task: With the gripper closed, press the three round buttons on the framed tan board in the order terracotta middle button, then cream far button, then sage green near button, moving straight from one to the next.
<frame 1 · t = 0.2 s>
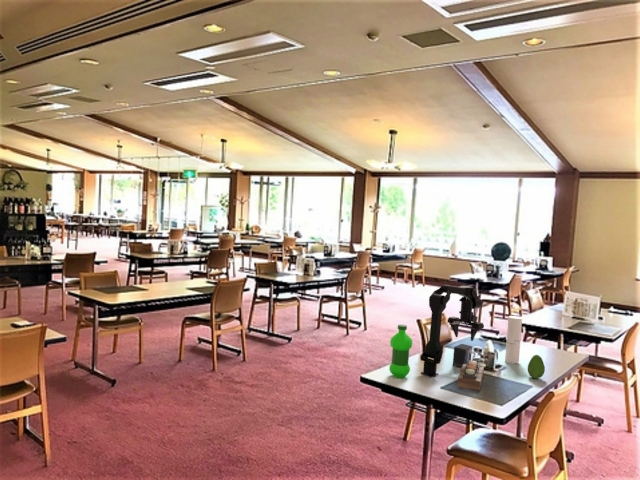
hand: (464, 338, 275), 14 cm above the table, tool pointing down, fingers open, 9 cm apart
avocado: (535, 378, 261), on the table
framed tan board: (470, 380, 252), on the table
button cream: (473, 363, 259), point 6 cm above the table, slide at 0.0 cm
plastic bottle: (399, 376, 252), on the table
button terracotta: (471, 367, 252), point 6 cm above the table, slide at 0.0 cm
button sage: (470, 372, 244), point 6 cm above the table, slide at 0.0 cm
small box: (461, 366, 277), on the table
cylindrical container: (511, 362, 289), on the table
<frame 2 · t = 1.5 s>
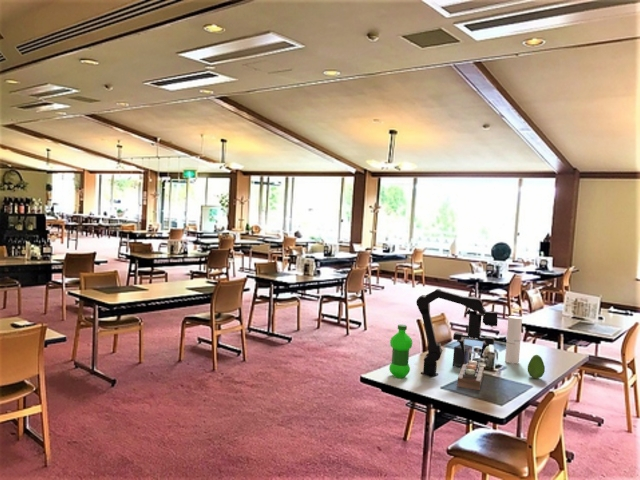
hand: (472, 355, 252), 12 cm above the table, tool pointing down, fingers open, 8 cm apart
nothing on the table moved.
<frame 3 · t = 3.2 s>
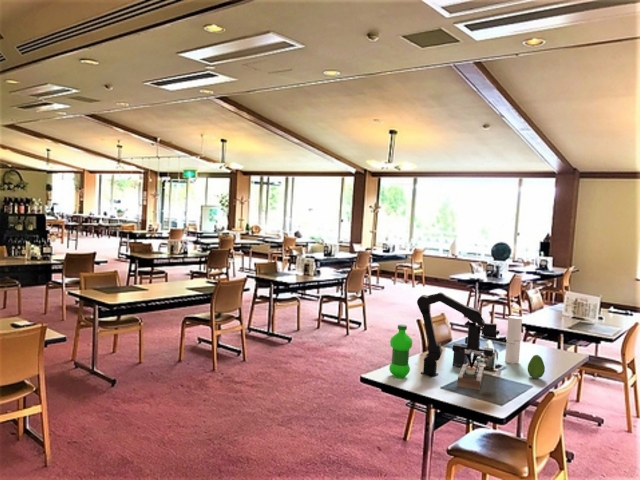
hand: (471, 367, 252), 6 cm above the table, tool pointing down, fingers closed, pressing on button terracotta
button terracotta: (471, 369, 252), point 6 cm above the table, slide at 0.8 cm, touching gripper
everything else where it was.
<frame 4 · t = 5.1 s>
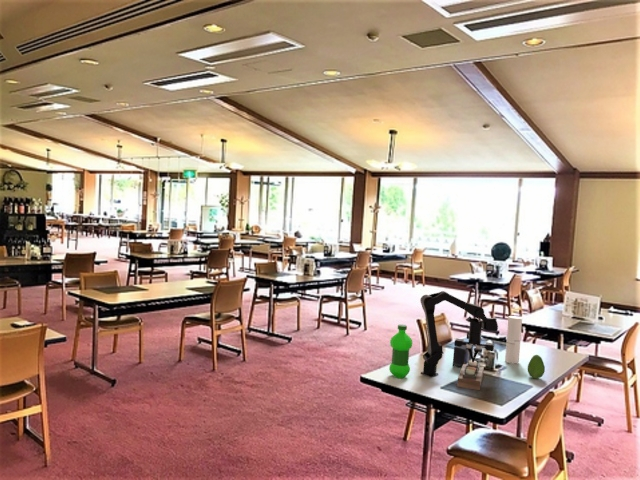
hand: (473, 361, 259), 7 cm above the table, tool pointing down, fingers closed, pressing on button cream
button cream: (473, 363, 259), point 6 cm above the table, slide at 0.0 cm, touching gripper
button terracotta: (471, 369, 252), point 5 cm above the table, slide at 1.0 cm
everything else where it was.
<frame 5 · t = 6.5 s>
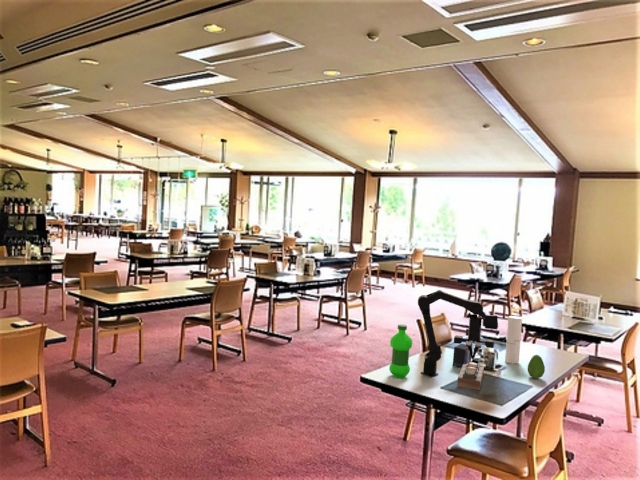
hand: (472, 358, 254), 10 cm above the table, tool pointing down, fingers closed
button cream: (472, 365, 259), point 5 cm above the table, slide at 1.0 cm
everything else where it was.
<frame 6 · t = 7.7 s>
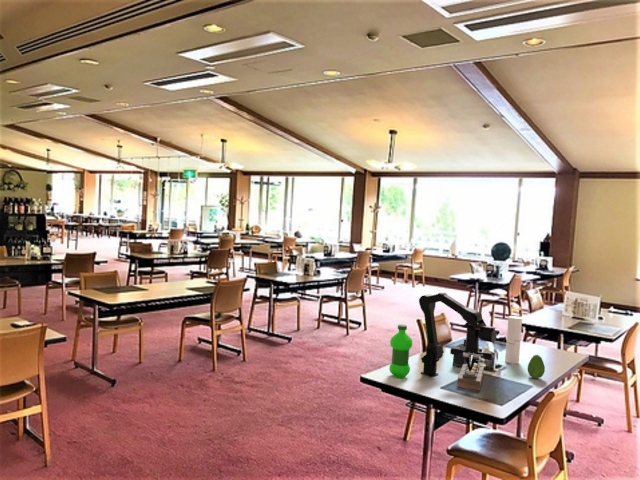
hand: (470, 371, 244), 7 cm above the table, tool pointing down, fingers closed, pressing on button sage
button sage: (470, 372, 244), point 6 cm above the table, slide at 0.4 cm, touching gripper
everything else where it was.
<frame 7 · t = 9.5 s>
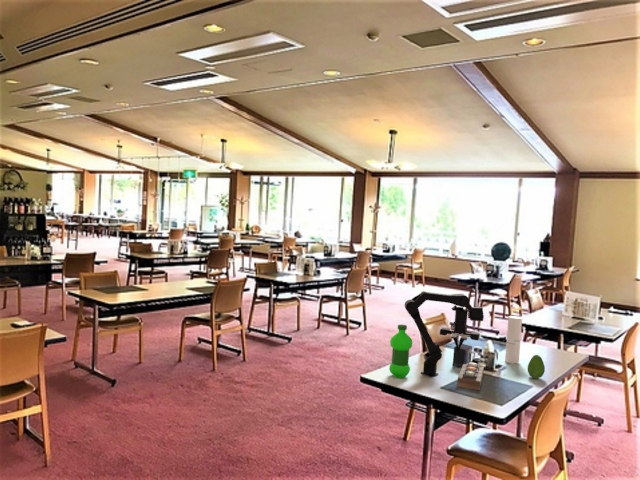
hand: (458, 351, 257), 13 cm above the table, tool pointing down, fingers closed
button sage: (470, 374, 244), point 5 cm above the table, slide at 1.0 cm
everything else where it was.
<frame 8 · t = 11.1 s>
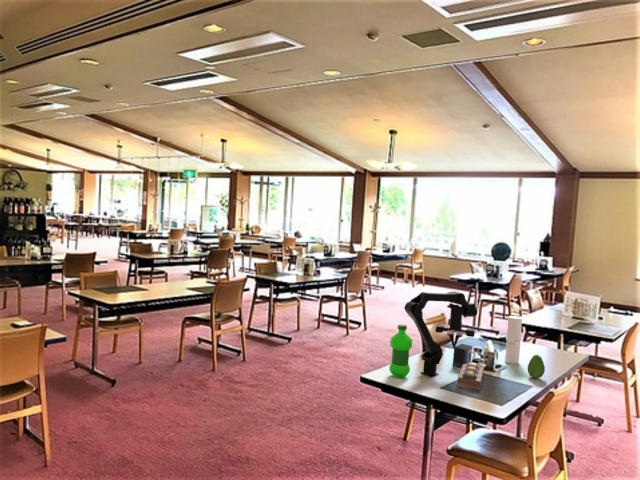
hand: (454, 347, 262), 13 cm above the table, tool pointing down, fingers closed
nothing on the table moved.
at the end: button terracotta slide at 1.0 cm; button cream slide at 1.0 cm; button sage slide at 1.0 cm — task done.
